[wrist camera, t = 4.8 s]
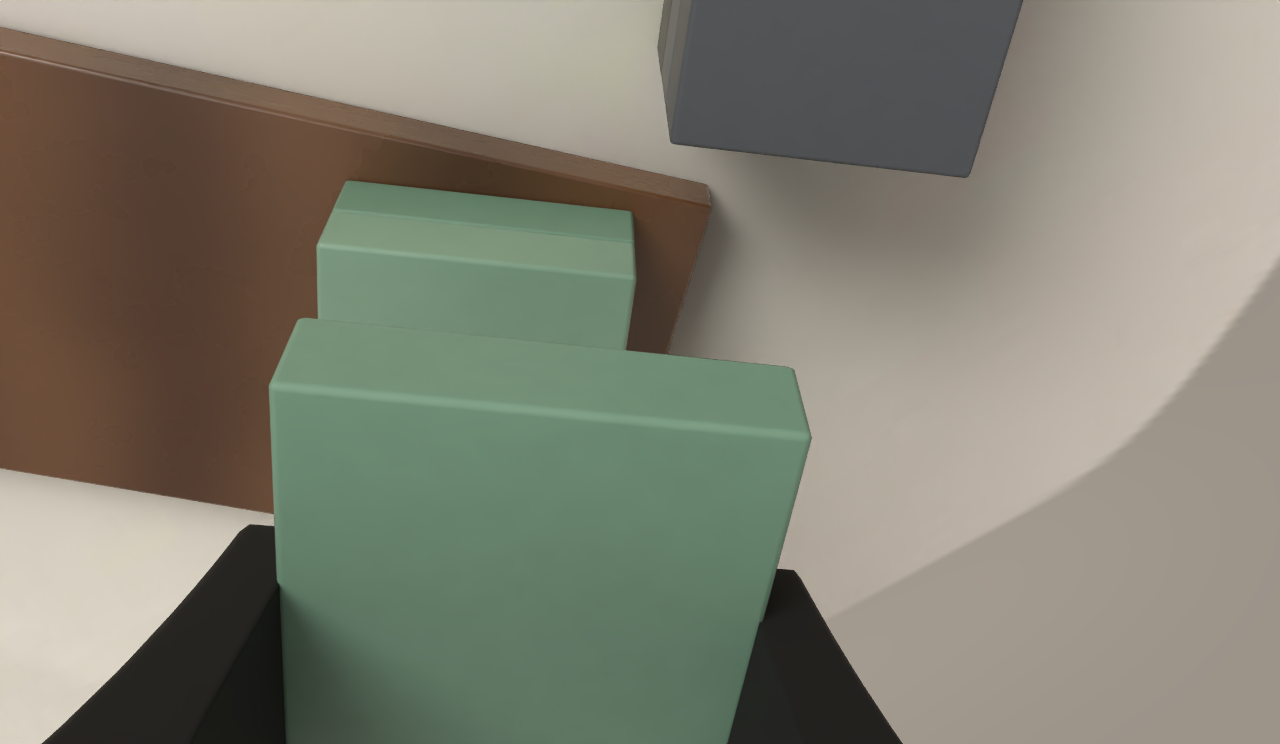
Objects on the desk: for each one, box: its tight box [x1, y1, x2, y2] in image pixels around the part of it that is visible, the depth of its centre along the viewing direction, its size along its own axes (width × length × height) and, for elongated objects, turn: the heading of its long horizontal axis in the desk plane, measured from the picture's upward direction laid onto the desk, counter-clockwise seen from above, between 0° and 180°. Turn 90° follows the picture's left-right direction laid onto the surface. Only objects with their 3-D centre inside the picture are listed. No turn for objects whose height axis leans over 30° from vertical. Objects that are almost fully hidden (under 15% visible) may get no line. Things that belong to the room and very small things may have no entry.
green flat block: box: [316, 180, 636, 350], centre depth 20 cm, size 5×7×2 cm, turn 172°
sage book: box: [269, 318, 812, 744], centre depth 13 cm, size 5×7×1 cm, turn 172°
